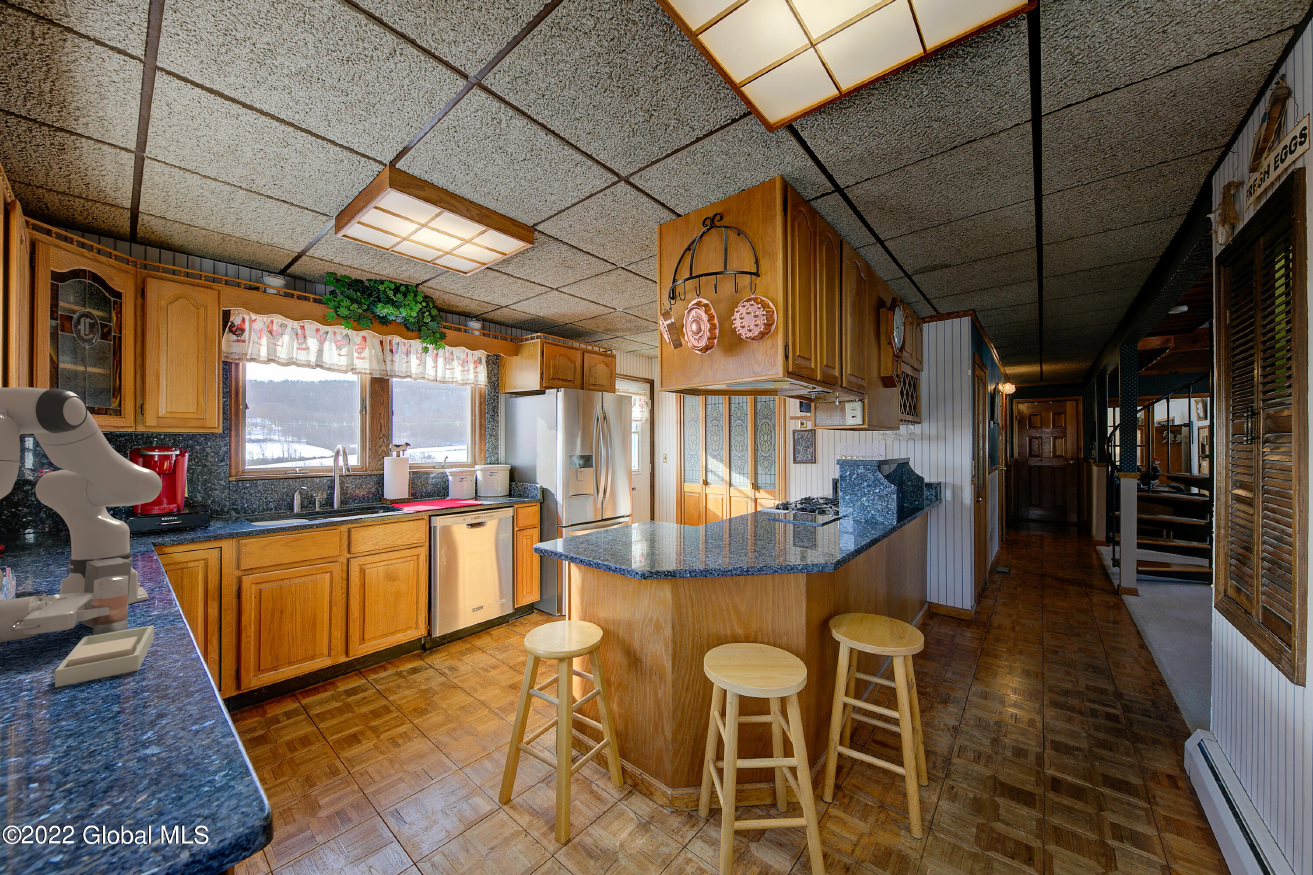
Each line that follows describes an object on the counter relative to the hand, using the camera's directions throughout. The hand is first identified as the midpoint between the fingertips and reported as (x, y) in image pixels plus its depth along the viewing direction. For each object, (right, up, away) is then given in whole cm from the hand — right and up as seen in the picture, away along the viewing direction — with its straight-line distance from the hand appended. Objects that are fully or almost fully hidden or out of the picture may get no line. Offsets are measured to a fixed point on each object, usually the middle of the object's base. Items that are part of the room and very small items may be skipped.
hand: (114, 604), depth 119 cm
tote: (+15, -8, -15) cm, 22 cm away
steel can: (0, -8, 0) cm, 8 cm away
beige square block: (+18, -7, -19) cm, 27 cm away
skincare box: (-13, -8, +10) cm, 18 cm away
